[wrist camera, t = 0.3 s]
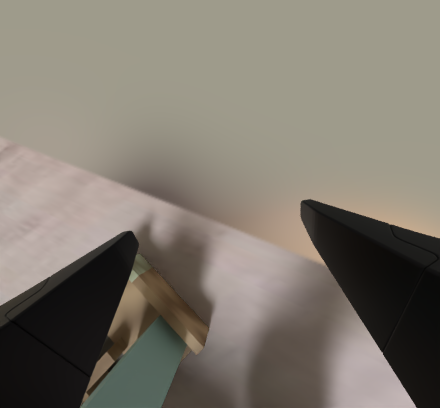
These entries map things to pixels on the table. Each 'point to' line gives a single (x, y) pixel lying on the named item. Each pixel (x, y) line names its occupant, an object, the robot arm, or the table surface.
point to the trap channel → (146, 319)
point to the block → (142, 371)
